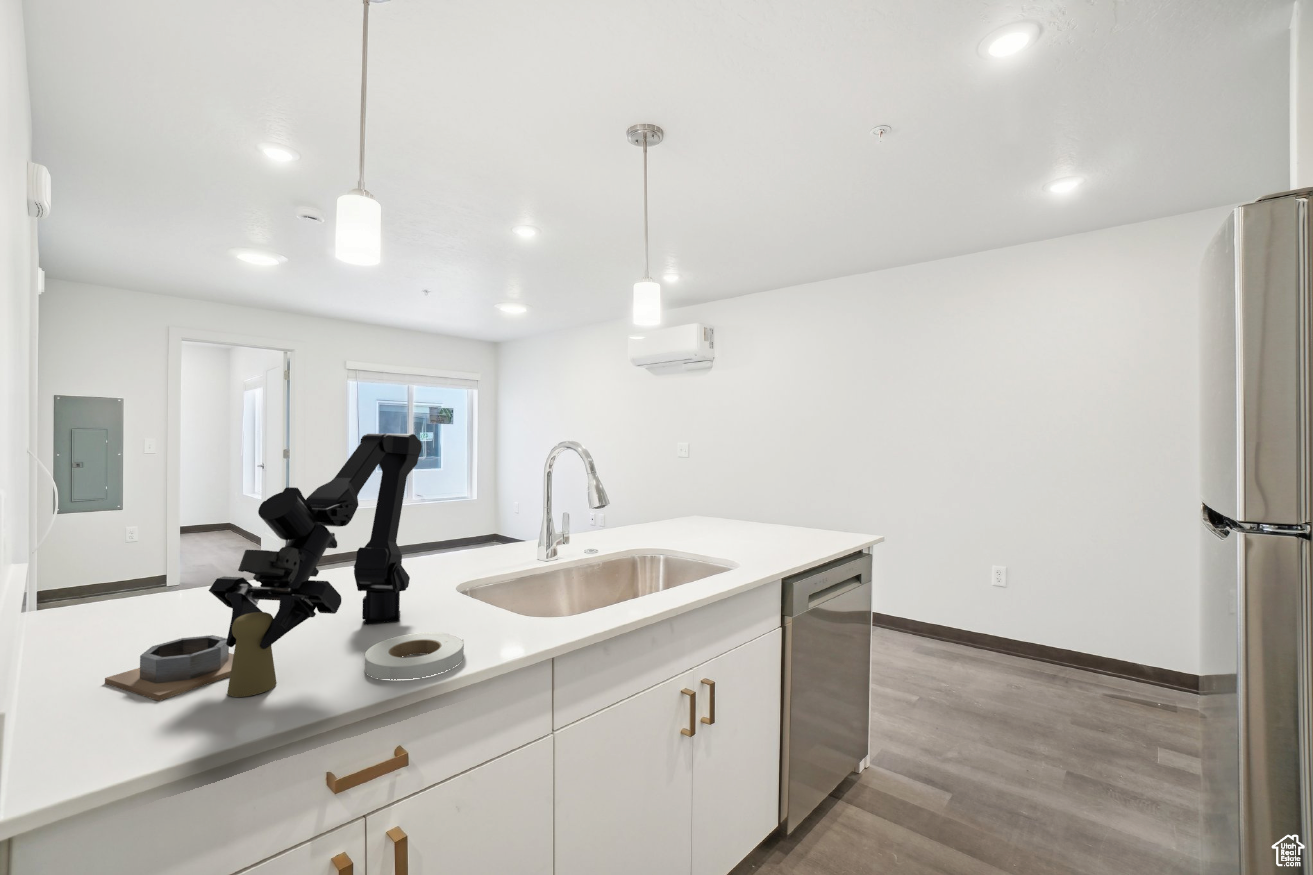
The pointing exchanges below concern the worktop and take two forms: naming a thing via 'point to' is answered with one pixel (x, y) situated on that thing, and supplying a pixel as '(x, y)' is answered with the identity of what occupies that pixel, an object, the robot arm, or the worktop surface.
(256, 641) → the cork
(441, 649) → the roll of tape
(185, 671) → the metal collar
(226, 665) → the walnut plate
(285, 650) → the worktop surface
